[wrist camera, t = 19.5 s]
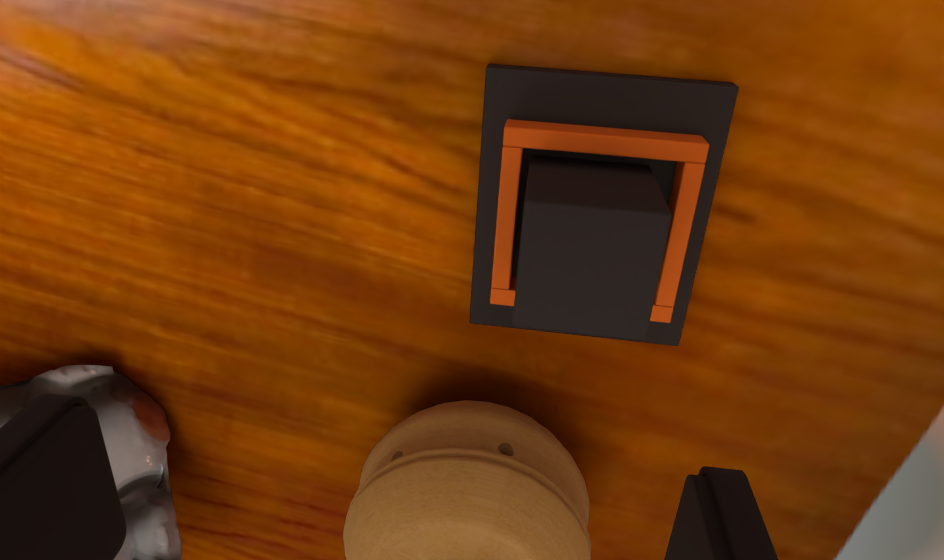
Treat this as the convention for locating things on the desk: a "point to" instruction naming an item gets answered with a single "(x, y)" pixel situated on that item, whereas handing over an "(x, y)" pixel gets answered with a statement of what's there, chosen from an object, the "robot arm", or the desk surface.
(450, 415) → the pot
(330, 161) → the desk surface
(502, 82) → the base pad
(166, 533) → the lucky cat figurine
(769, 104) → the desk surface
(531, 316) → the dark grey cube
